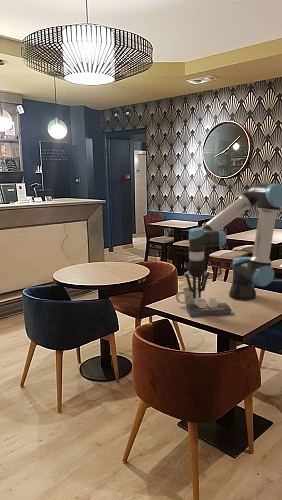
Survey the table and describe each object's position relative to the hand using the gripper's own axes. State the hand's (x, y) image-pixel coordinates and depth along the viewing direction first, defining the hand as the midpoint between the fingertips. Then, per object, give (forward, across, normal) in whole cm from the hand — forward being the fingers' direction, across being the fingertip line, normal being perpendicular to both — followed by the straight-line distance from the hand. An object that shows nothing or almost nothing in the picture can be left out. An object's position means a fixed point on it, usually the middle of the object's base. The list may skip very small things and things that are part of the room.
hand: (196, 304), depth 202 cm
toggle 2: (+2, -8, 0) cm, 8 cm away
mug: (+5, +3, -10) cm, 12 cm away
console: (+5, -6, 0) cm, 8 cm away
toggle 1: (+2, -3, 0) cm, 3 cm away
